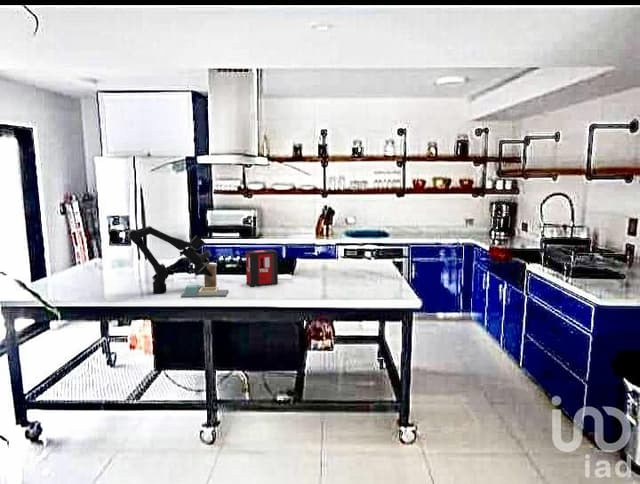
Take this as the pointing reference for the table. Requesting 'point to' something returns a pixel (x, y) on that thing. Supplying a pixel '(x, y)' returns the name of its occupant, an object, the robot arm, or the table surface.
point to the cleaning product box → (261, 268)
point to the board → (203, 292)
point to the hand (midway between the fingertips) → (212, 275)
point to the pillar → (210, 280)
